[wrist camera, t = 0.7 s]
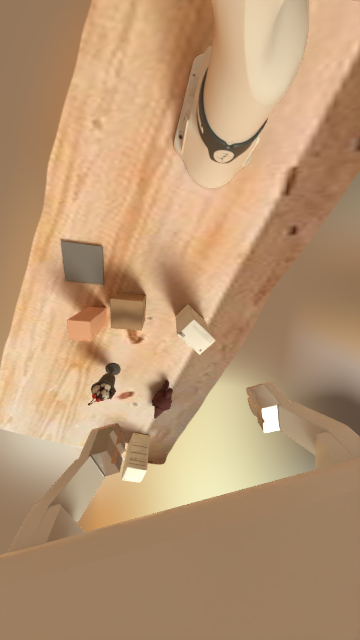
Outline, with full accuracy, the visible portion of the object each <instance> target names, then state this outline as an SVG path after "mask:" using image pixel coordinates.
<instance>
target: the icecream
mask: <svg viewBox="0 0 360 640" xmlns="http://www.w3.org/2000/svg"><path fill="white" fill-rule="evenodd" d="M168 387H169V381H166V382H165V384H164V386H163V391H160V392H159V393H157V394H156V395H155V397H154V398H153V400H152V402H153V403H152V405H153V406H155V413H154V418H157V417H158V416H159V415H160V414H161V413H162V412H163V411H165V410H168V409H170V407H171V403H172V400H171V396H172V392H173V390H172V388H169V389H168ZM167 389H168V390H167Z"/></svg>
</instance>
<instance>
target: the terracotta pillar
mask: <svg viewBox="0 0 360 640" xmlns="http://www.w3.org/2000/svg"><path fill="white" fill-rule="evenodd" d="M67 324H68V332H69V340H84V341H92V340H93V338H94V337H95V336H96V335H97V334H98V333H99V332H100V331H101V330H102V328H103V327H104V326H105V325H106V324H107V308H102V307H91V306H89V307H87V308H86V309H84V310H83V311H81V312H79V313H78V314H76V315H75V316H73V317H71V318H70V319H68V320H67Z"/></svg>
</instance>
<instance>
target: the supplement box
mask: <svg viewBox="0 0 360 640" xmlns="http://www.w3.org/2000/svg"><path fill="white" fill-rule="evenodd" d="M149 437H150V436H149V435H144V434H139V433H133V434H132V436H131V439H130V441H129V443H128V448H127V453H126V458H125V464H124V469H123V474H122V479H121V480H125V481H132V482H141V481H142V479H143V477H144V475H145V473H146V471H147V462H148V450H149Z"/></svg>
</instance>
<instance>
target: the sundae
mask: <svg viewBox="0 0 360 640" xmlns="http://www.w3.org/2000/svg"><path fill="white" fill-rule="evenodd" d="M106 372H107V374H105V375H103V376H102V378H101V379H100V380H99V381H98V382H97V383H95V384H93V386H92V387H91V392H92V398H93V399H95V398H96V401H97V402H99V401H103V400H106V399H111V398H112V397H113V395H114V394H115V392H116V390H115V388H114V384H115V377H114V375H117V374H119V373H120V367H119V365H117V364H115V363H111V364H108V365H107V366H106ZM92 401H93V400H92ZM92 401H91V402H92ZM94 402H95V401H94ZM92 403H93V402H92ZM92 403H91V404H92ZM91 404H90V403H89V404H88V405H91Z"/></svg>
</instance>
